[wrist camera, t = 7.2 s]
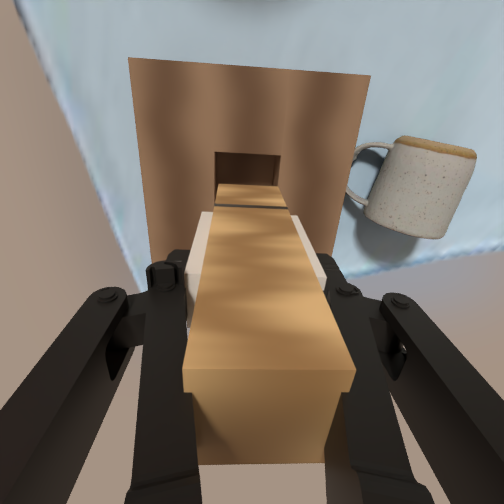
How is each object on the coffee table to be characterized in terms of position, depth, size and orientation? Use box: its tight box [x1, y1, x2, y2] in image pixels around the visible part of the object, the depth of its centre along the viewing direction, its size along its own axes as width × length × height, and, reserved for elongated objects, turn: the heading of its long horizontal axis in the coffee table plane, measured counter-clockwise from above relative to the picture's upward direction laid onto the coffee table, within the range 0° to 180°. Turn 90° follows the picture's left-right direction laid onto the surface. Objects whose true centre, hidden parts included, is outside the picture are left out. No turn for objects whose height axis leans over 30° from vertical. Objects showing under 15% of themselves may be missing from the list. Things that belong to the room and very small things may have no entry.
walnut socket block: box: [128, 57, 371, 263], centre depth 28 cm, size 18×18×5 cm
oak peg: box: [182, 184, 356, 465], centre depth 14 cm, size 4×4×15 cm
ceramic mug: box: [346, 136, 477, 239], centre depth 28 cm, size 11×8×8 cm
